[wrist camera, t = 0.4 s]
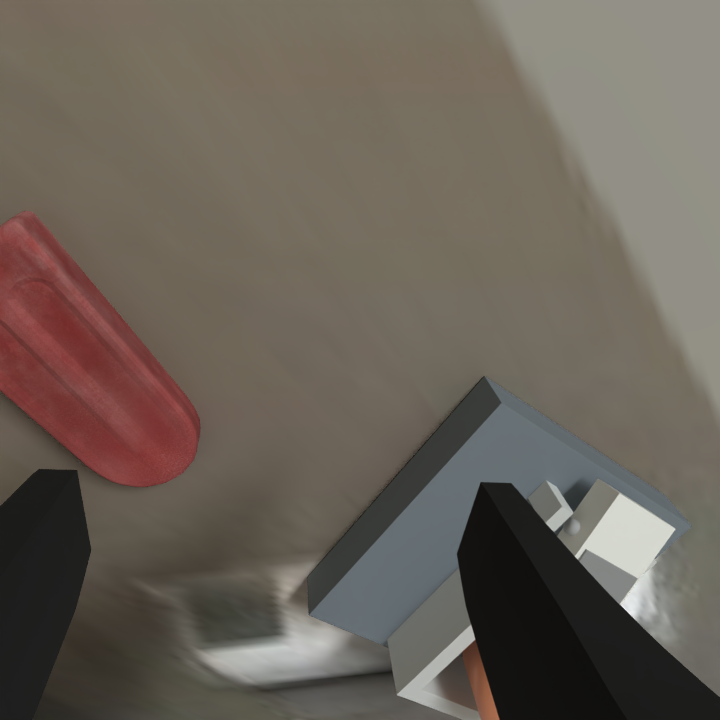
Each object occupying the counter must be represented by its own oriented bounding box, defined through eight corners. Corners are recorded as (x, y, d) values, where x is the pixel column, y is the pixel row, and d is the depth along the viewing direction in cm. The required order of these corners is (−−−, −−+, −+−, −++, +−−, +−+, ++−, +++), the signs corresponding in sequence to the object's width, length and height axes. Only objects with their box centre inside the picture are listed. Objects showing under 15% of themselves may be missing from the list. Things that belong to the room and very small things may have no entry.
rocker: (596, 597, 23) (618, 619, 22) (532, 563, 22) (552, 584, 20) (655, 514, 23) (681, 532, 21) (594, 475, 21) (617, 492, 20)
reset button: (502, 683, 25) (528, 757, 22) (446, 660, 24) (466, 734, 21) (554, 638, 24) (587, 709, 21) (498, 612, 23) (526, 684, 20)
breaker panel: (487, 655, 29) (519, 747, 25) (307, 577, 26) (310, 671, 22) (664, 494, 26) (733, 572, 22) (484, 376, 22) (528, 443, 18)
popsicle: (-145, 44, 14) (224, 454, 21) (-104, 46, 16) (228, 427, 22) (-277, 145, 15) (124, 512, 22) (-224, 137, 16) (134, 481, 23)
